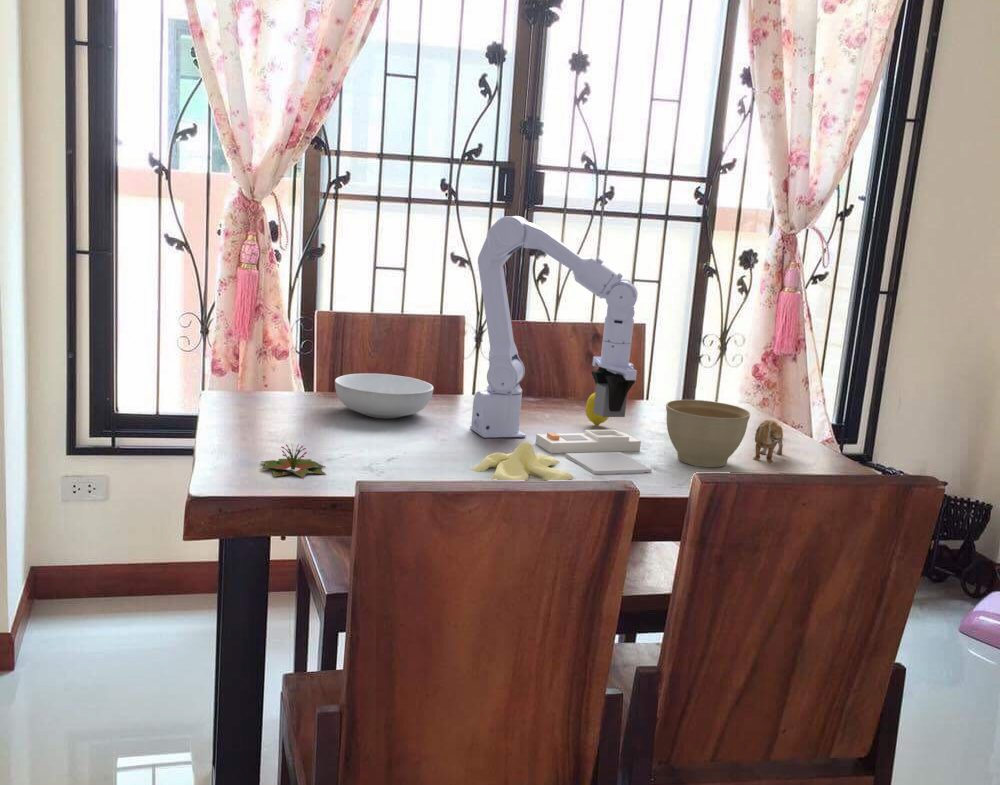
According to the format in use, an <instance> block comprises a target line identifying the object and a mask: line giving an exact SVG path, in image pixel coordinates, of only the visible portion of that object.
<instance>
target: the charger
mask: <svg viewBox="0 0 1000 785" xmlns="http://www.w3.org/2000/svg"><path fill="white" fill-rule="evenodd" d="M594 393H595V401H594V411H593V412H594V413H596V414H598V415H600V416H602V417H609V418H625V417H626V416H625V415H626V408H627V400H628V394H627V395H626V397H625V400H624V402H623V405H622V408H621V410H620V411H610V408H609V386H608V383H596V384H595V392H594Z"/></svg>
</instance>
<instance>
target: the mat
mask: <svg viewBox="0 0 1000 785" xmlns="http://www.w3.org/2000/svg"><path fill="white" fill-rule="evenodd" d="M565 458H567V459H569V460H571V461H573V462H574V463H576V464H578V465H579V466H580V467H582V468H584V469H585V470H587V471H589V472H590V473H591V474H593V475H611V474H615V475H616V474H617V475H618V473H619V474H641V473H644V472H648V473H652V472H653V471H652V470H653V469H652V468H650V467H649V466H646V465H645V464H644V463H641V462H639V461H638V460H636V459H634V458H632V457H631V456H628V455H626V454H625V453H623V452H622V451H615V452H574V453H565Z"/></svg>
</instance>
